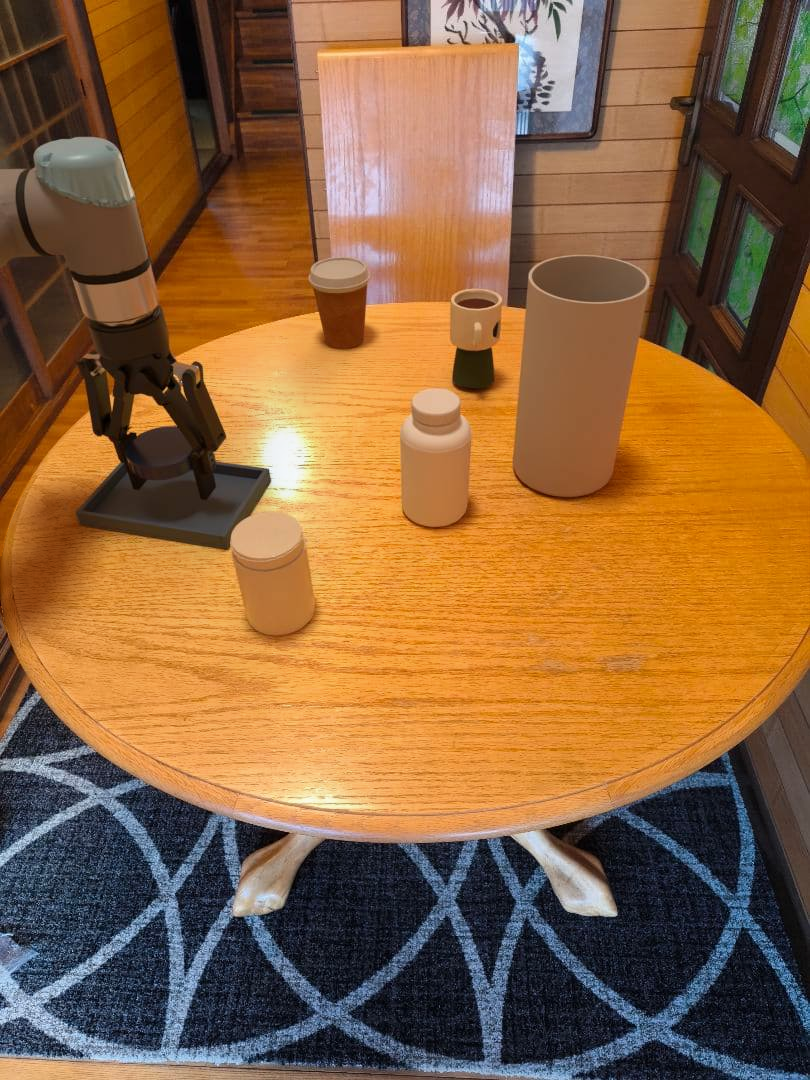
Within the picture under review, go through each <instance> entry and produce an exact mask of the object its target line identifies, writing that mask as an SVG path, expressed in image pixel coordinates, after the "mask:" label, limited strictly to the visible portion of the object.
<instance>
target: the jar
mask: <svg viewBox="0 0 810 1080" xmlns="http://www.w3.org/2000/svg"><path fill="white" fill-rule="evenodd" d="M230 551H231V558H232V562H233V566H234V570H235V574H236V580H237V583H238V586H239V592H240V595H241V599H242V603H243V607H244V612H245V616H246V620H247V622H248V624H249V625H250V626H251V627H252V628H253V630H255V631H256V632H258V633H261V634H264V635H267V636H285V635H289V634H293V633H295V632H297V631H299V630H301V629H302V628H304V627H305V626H307V624H308V623H309V622H310V621H311V620H312V619H313V617H314V615H315V612H316V600H315V593H314V586H313V580H312V573H311V567H310V560H309V554H308V547H307V541H306V538H305V535H304V533H303V528H302V525H301V523H300V522H299V521H298V520H297V518H295V517H294V516H293V515H291V514H288V513H285V512H281V511H261V512H259V513H255V514H252V515H249V517H247V518H245V519H244V520H242V521H241V522H240V523H239V524H238V525H237V526H236V527H235V528H234V530H233V531H232V534H231V541H230Z"/></svg>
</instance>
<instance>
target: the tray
mask: <svg viewBox="0 0 810 1080" xmlns="http://www.w3.org/2000/svg"><path fill="white" fill-rule="evenodd" d="M216 464H217V465H216V469H215V470H214V471H213V475H214V479H215V483H216V488H215V489H214V490H213V492H212V493H211V495H210V496H209V497H208V499H207V500H202V499H201V498H200V495H199V491H198V487H197V483H196V479H195V476H194V472H193V469H192V470H190V471H189V472H187V473H185V474H183V475H181V476H178V477H175V478H172V479H167V480H147V481H146V482H145V483H144V485H143V486H142V487H141V488H140V489H139V490H134V489H133V487H132V484H131V481H130V478H129V475H128V472H127V469H126V466H125V463H121V462H120V461H119V463H118V464H117V465H116V467H114V469H113V470H112V471H111V472H110V473H109V474H108V475H107V477H106V478H105V479H104V480H103V481H102V482H101V483H100V484H99V485H98V486H97V487H96V489H95V490H94V491H93V492H92V493H91V494H90V495H89V497H88V498H86V500H85V501H84V502H83V503H82V504H81V505H80V506H79V508H78V509H77V510H76V511H75V512H74V514H75V516H76V519H77V521H78V524H79V526H81V527H86V528H87V527H88V528H95V529H99V530H106V531H112V532H119V533H125V534H129V535H137V536H143V537H149V538H155V539H161V540H167V541H172V542H178V543H179V542H180V543H184V544H191V545H198V546H202V547H209V548H215V549H221V550H229V549H230V548H231V545H230V541H231V534H232V531H233V530H234V528H235V527H236V526H237V525H238V524H239V523H240V522H241V521H242V520H244V519H245V518H247V517H249V516H251V514H252V512H253V511H254V509H255V507H256V506H257V505H258V504H259V501H260V500H261V498H263V497H262V496H263V495H264V494H265V491H267V489H268V487H269V485H270V484H271V483H272V477H271V472H270V468H268V467H261V466H253V465H245V464H244V465H243V464H237V463H232V462H223V461H217V460H216Z"/></svg>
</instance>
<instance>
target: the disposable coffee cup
mask: <svg viewBox="0 0 810 1080" xmlns="http://www.w3.org/2000/svg"><path fill="white" fill-rule="evenodd" d="M370 278H371V272H370V270H369V269H368V267H367V264H366V263H365V261H363V260H361V259H359V258H355V257H349V256H335V257H328V258H324V259H322V260H318V261H316V262H315V263H313V264H312V266H311V267H310V273H309V275H308V278H307V279H308V281H309V283H310V285H311V287H312V289H313V294H314V298H315V302H316V306H317V311H318V315H319V318H320V319H319V320H320V324H321V328H322V332H323V336H324V340H325V344H326V345H328V346H329V347H331V348H335V349H340V350H341V349H351V348H355V347H357V346H359V345H361V344H362V343H363V342H364V340H365V329H366V327H365V325H366V314H367V313H366V311H367V310H366V309H367V298H368V297H367V296H368V284H369V282H370Z"/></svg>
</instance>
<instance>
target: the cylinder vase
mask: <svg viewBox="0 0 810 1080" xmlns="http://www.w3.org/2000/svg"><path fill="white" fill-rule="evenodd" d="M650 284H651V280H650V277H649V275H648V274H647V273H646V272H645V270H643V269H641V268H640V267H639V266H637V265H636V264H633V263H631V262H629V261H625V260H623V259H618V258H614V257H609V256H603V255H595V254H569V255H561V256H555V257H552V258H548V259H545V260H543V261H541V262H539V263H537V264H535V265H533V267H532V268H531V269H530V270H529V272H528V278H527V289H526V290H527V291H526V303H525V314H524V324H523V325H524V326H523V336H522V349H521V359H520V371H519V382H518V393H517V394H518V395H517V405H516V406H517V408H516V417H515V428H514V429H515V430H514V441H513V452H512V467H513V471H514V473H515V475H516V476H517V477H518V478H519V480H520V481H521V482H523V483H524V484H525V485H526V486H527V487H529V488H531V489H533V490H534V491H537V492H538V493H542V494H545V495H548V496H552V497H560V498H575V497H583V496H587V495H590V494H593V493H595V492H597V491H599V490H600V489H602V488H603V487H605V486H606V485H607V484H608V483H609V481H610V480H611V478H612V476H613V474H614V473H613V472H614V468H615V464H616V458H617V453H618V447H619V444H620V443H619V442H620V439H621V432H622V428H623V423H624V418H625V411H626V408H627V407H626V406H627V401H628V396H629V392H630V386H631V383H632V376H633V372H634V366H635V362H636V356H637V350H638V346H639V340H640V335H641V330H642V325H643V320H644V316H645V315H644V314H645V310H646V305H647V301H648V300H647V299H648V295H649V289H650Z"/></svg>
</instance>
